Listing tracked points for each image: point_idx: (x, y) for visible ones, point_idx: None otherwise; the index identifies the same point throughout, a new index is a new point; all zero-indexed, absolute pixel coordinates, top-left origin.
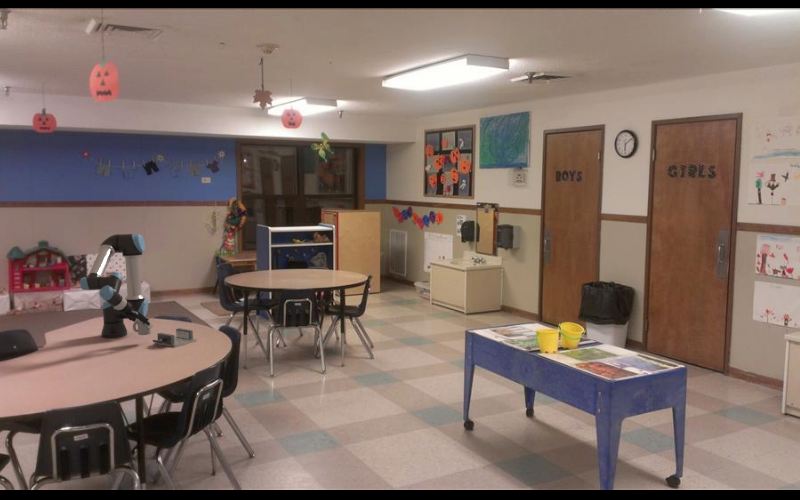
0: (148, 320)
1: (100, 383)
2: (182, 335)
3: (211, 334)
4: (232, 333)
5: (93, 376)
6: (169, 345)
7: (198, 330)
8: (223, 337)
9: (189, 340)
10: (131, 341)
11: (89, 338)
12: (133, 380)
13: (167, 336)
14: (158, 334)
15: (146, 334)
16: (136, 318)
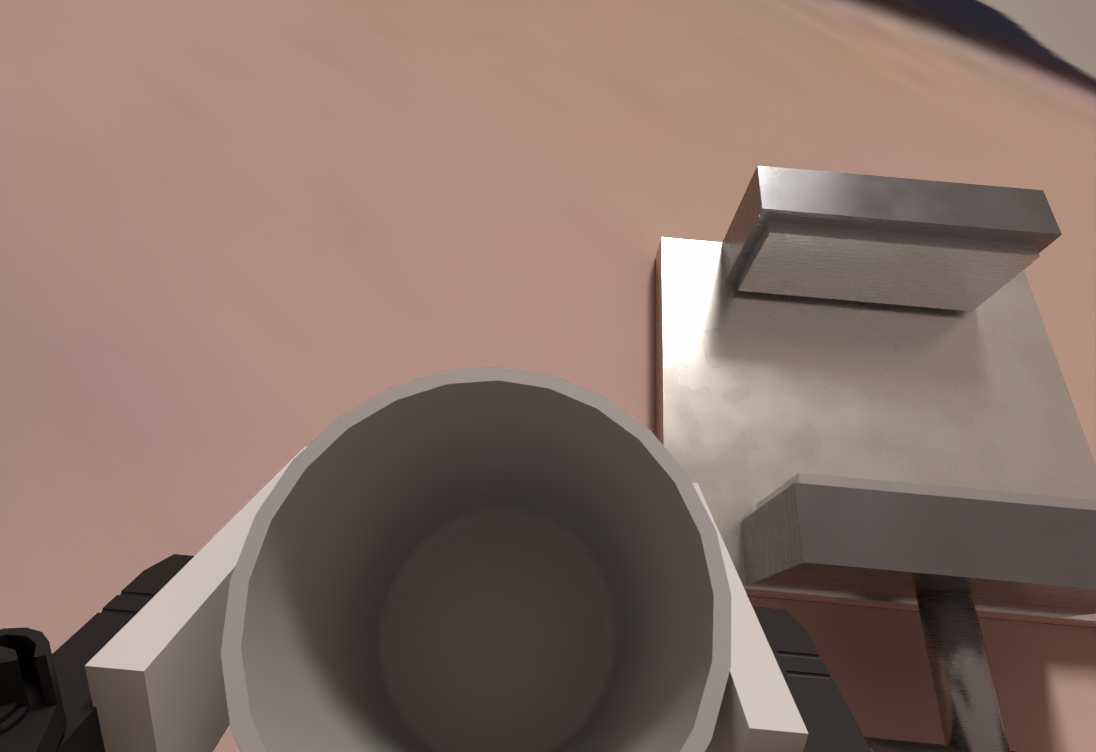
0: (715, 575)
1: None
2: (877, 282)
3: (845, 70)
4: (965, 7)
5: None
6: (1012, 617)
7: (602, 15)
8: (1050, 107)
9: (1042, 353)
10: None
11: None
12: None
13: (1091, 593)
14: (827, 566)
15: (611, 681)
16: (98, 680)
